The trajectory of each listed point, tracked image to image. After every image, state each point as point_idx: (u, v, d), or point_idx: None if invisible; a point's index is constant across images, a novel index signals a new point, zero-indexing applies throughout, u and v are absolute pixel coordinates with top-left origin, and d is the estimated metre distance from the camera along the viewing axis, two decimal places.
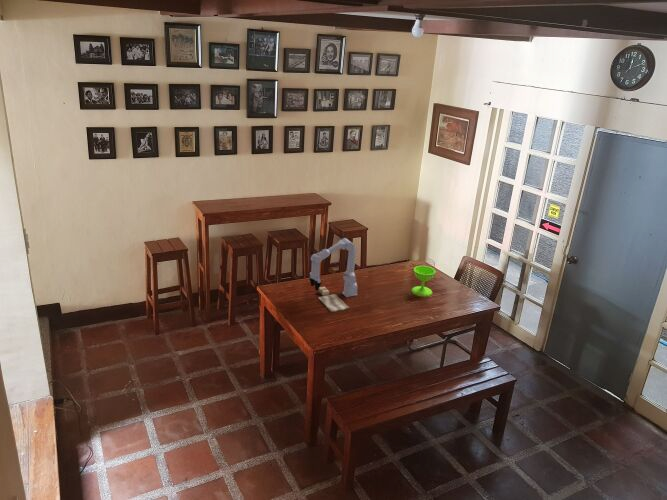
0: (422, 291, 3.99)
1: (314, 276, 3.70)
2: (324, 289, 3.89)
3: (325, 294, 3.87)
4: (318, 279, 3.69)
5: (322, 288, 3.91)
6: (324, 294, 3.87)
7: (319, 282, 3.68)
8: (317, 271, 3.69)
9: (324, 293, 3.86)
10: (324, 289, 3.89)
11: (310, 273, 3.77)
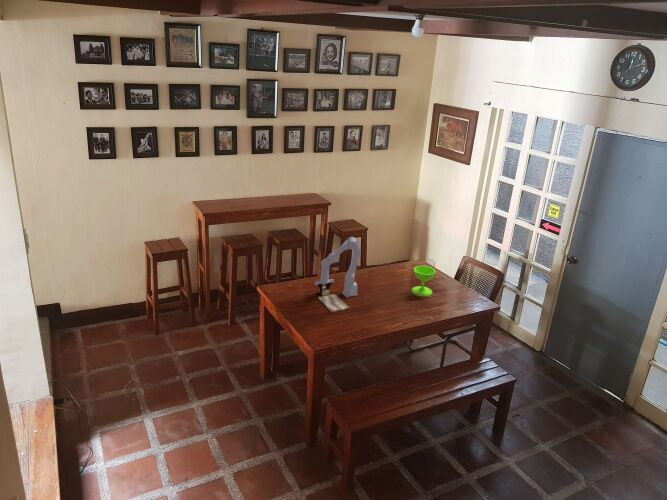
0: (422, 291, 3.99)
1: None
2: (324, 289, 3.89)
3: (325, 294, 3.87)
4: (317, 282, 3.85)
5: (322, 288, 3.91)
6: (324, 294, 3.86)
7: (315, 284, 3.84)
8: (325, 276, 3.83)
9: (324, 293, 3.86)
10: (324, 289, 3.89)
11: (330, 279, 3.90)
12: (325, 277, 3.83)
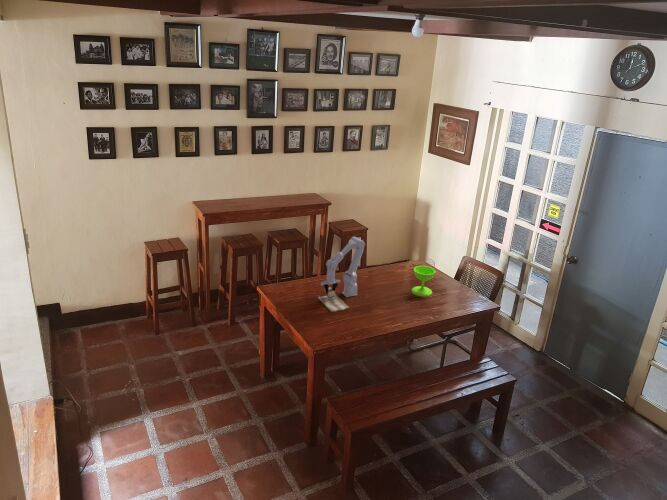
0: (422, 291, 3.99)
1: None
2: (330, 290, 3.80)
3: (331, 295, 3.77)
4: (323, 282, 3.75)
5: (328, 289, 3.81)
6: (330, 295, 3.77)
7: None
8: (333, 276, 3.74)
9: (330, 294, 3.77)
10: (330, 290, 3.79)
11: None
12: (331, 277, 3.73)
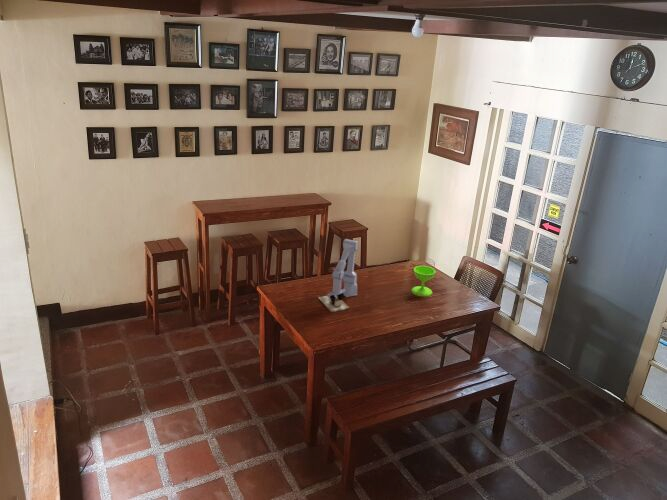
0: (422, 291, 3.99)
1: None
2: (336, 299, 3.73)
3: (338, 304, 3.70)
4: (330, 293, 3.67)
5: None
6: (337, 304, 3.70)
7: (328, 296, 3.67)
8: (340, 286, 3.67)
9: (337, 304, 3.70)
10: (336, 300, 3.72)
11: (342, 289, 3.74)
12: (338, 288, 3.66)
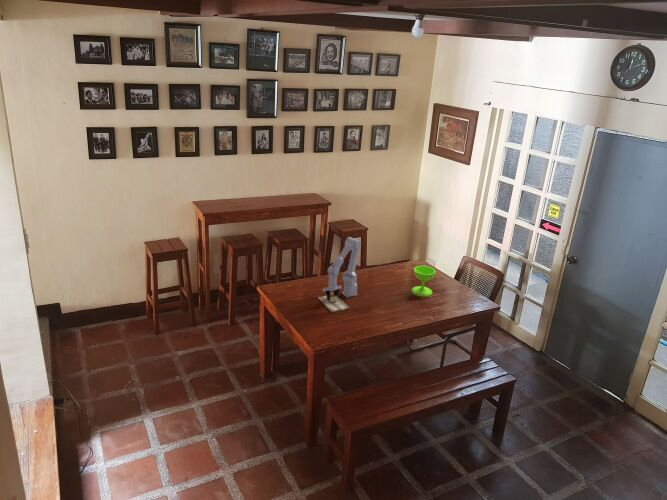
0: (422, 291, 3.99)
1: None
2: (332, 295, 3.78)
3: (333, 300, 3.76)
4: (325, 288, 3.73)
5: (330, 294, 3.80)
6: (332, 300, 3.76)
7: (323, 291, 3.73)
8: (335, 282, 3.73)
9: (332, 300, 3.75)
10: (332, 295, 3.78)
11: None
12: (333, 284, 3.72)
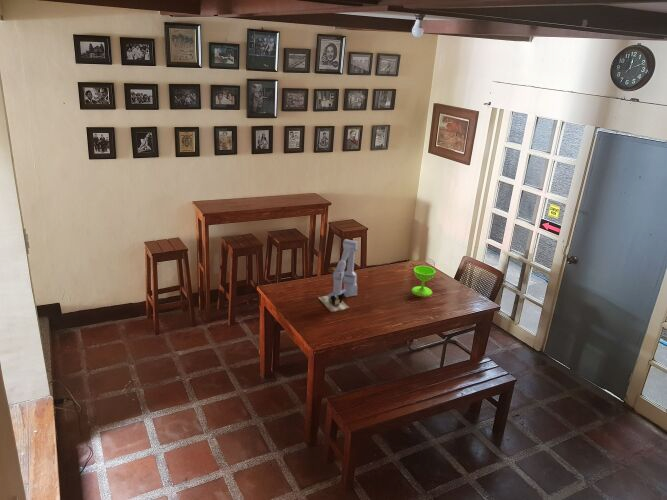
0: (422, 291, 3.99)
1: (333, 290, 3.69)
2: None
3: (336, 303, 3.72)
4: (330, 294, 3.66)
5: None
6: (335, 303, 3.72)
7: (328, 296, 3.66)
8: (341, 286, 3.67)
9: (335, 302, 3.72)
10: None
11: None
12: (339, 288, 3.66)
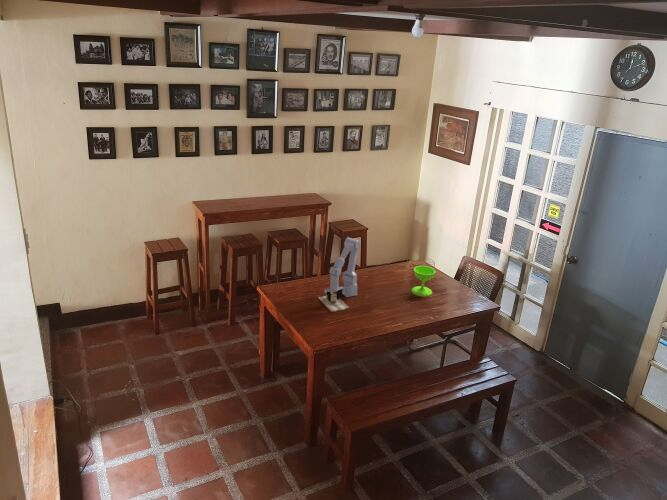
0: (422, 291, 3.99)
1: (330, 286, 3.73)
2: None
3: (332, 300, 3.76)
4: (327, 289, 3.71)
5: None
6: (331, 300, 3.76)
7: None
8: (337, 283, 3.70)
9: (332, 299, 3.76)
10: (332, 295, 3.78)
11: None
12: (335, 285, 3.69)
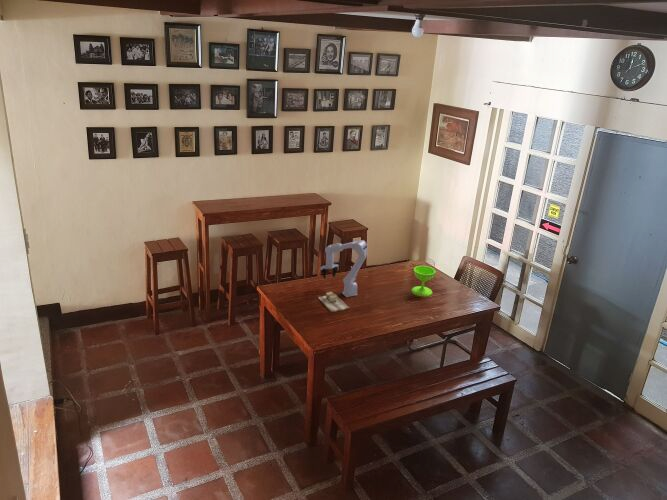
0: (422, 291, 3.99)
1: None
2: (331, 294, 3.79)
3: (332, 300, 3.76)
4: (322, 267, 3.90)
5: (329, 293, 3.80)
6: (331, 300, 3.76)
7: (320, 269, 3.90)
8: (328, 261, 3.88)
9: (332, 299, 3.76)
10: (332, 295, 3.78)
11: (335, 264, 3.96)
12: (330, 262, 3.89)
